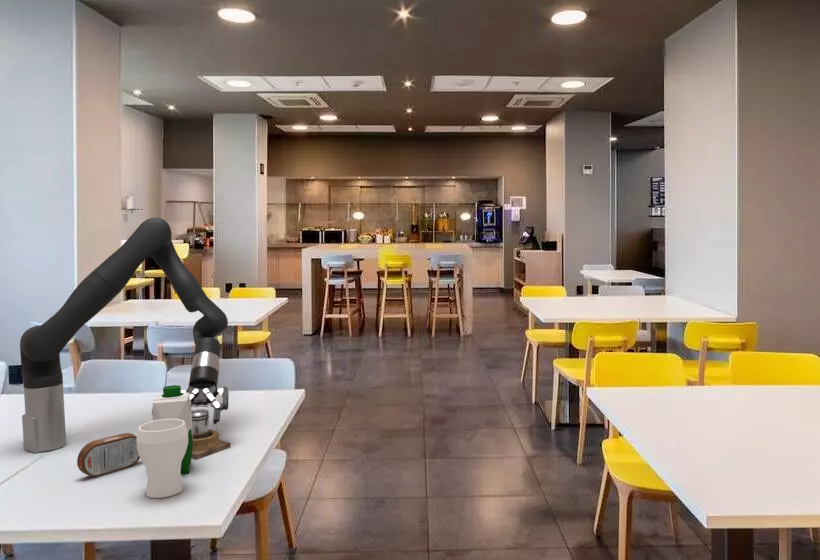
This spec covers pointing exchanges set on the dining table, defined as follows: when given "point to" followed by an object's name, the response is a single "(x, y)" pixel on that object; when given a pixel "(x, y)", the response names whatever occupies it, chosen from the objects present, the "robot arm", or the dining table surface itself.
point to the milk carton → (176, 416)
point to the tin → (108, 455)
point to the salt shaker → (200, 423)
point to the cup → (163, 455)
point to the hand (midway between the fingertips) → (198, 423)
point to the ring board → (208, 445)
